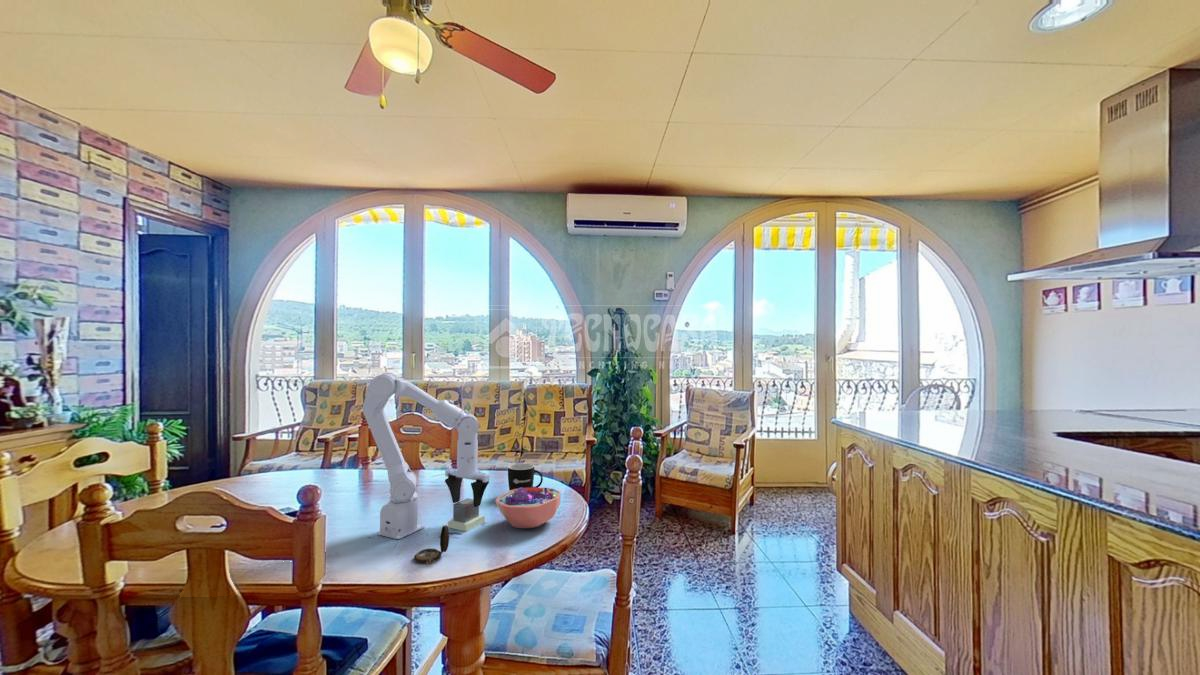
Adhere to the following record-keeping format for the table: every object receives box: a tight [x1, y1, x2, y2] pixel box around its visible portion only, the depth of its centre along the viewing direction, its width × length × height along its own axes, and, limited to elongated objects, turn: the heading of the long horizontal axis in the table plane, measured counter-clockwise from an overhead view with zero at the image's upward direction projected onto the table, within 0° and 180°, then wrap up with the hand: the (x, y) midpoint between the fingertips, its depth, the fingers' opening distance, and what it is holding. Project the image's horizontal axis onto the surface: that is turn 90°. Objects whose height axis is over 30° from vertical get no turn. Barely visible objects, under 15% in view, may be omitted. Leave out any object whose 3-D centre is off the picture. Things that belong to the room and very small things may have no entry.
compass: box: [413, 524, 450, 564], centre depth 117 cm, size 8×8×7 cm
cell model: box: [495, 487, 562, 529], centre depth 140 cm, size 17×20×11 cm
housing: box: [452, 497, 480, 523], centre depth 139 cm, size 6×4×5 cm
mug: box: [507, 462, 544, 492], centre depth 167 cm, size 12×9×10 cm
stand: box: [447, 514, 486, 532], centre depth 140 cm, size 8×6×2 cm
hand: (466, 504), depth 140 cm, fingers open, 7 cm apart
